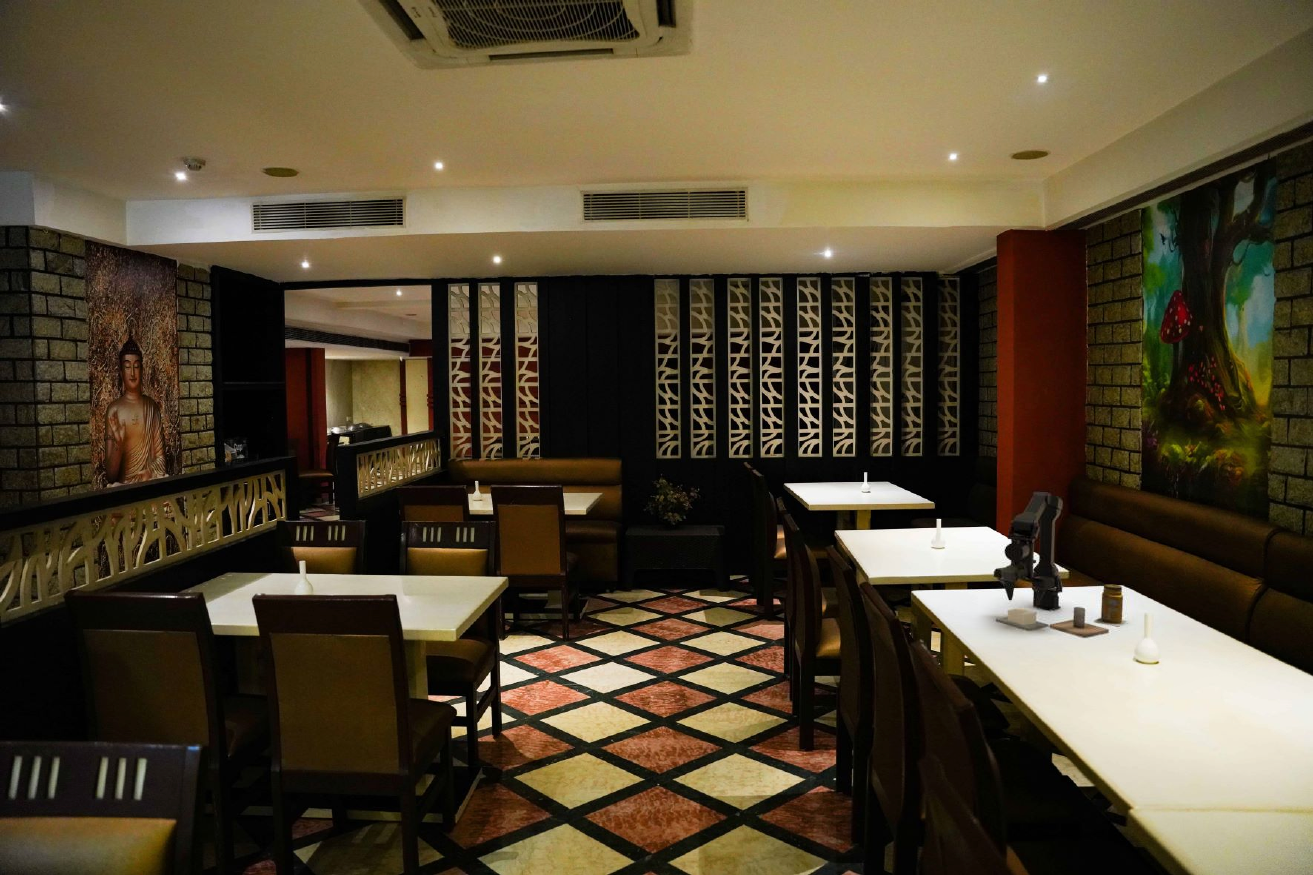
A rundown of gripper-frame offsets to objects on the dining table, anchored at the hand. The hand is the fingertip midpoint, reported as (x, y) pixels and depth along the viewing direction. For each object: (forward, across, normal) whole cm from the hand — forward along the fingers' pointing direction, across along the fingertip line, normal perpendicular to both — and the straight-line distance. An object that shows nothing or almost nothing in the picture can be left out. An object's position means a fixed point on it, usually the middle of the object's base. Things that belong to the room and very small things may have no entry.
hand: (1022, 603), depth 257 cm
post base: (+7, +13, +10) cm, 18 cm away
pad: (+7, 0, 0) cm, 7 cm away
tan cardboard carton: (+6, 0, 0) cm, 6 cm away
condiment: (+7, +12, +28) cm, 31 cm away
